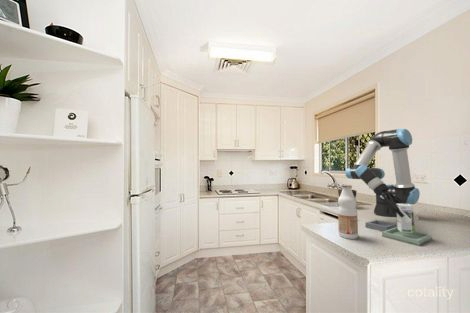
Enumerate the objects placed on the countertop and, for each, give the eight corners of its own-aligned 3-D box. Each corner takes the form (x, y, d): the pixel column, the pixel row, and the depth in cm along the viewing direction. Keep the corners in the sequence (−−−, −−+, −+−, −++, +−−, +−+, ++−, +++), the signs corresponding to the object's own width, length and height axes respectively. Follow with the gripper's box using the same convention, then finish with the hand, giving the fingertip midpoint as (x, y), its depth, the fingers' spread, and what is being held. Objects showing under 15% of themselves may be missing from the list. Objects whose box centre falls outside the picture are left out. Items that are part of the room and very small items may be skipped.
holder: (375, 224, 140) (375, 219, 141) (397, 229, 130) (396, 224, 130) (365, 227, 134) (365, 222, 134) (387, 232, 124) (386, 227, 124)
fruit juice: (337, 237, 117) (336, 185, 118) (339, 232, 125) (338, 184, 126) (357, 240, 112) (355, 186, 113) (358, 235, 120) (357, 184, 121)
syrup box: (401, 232, 113) (400, 204, 113) (397, 229, 118) (396, 202, 119) (414, 233, 111) (413, 205, 111) (409, 230, 116) (408, 203, 117)
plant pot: (355, 207, 196) (355, 189, 197) (358, 210, 183) (358, 191, 183) (337, 206, 202) (337, 189, 202) (339, 209, 188) (338, 190, 188)
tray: (396, 231, 125) (395, 227, 125) (431, 239, 112) (431, 234, 112) (382, 236, 117) (382, 231, 117) (418, 245, 103) (418, 240, 104)
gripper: (382, 189, 134) (415, 222, 119) (364, 192, 123) (398, 227, 109) (391, 181, 129) (427, 214, 115) (373, 183, 119) (410, 219, 104)
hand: (413, 220), depth 112 cm, fingers closed on syrup box, 8 cm apart
